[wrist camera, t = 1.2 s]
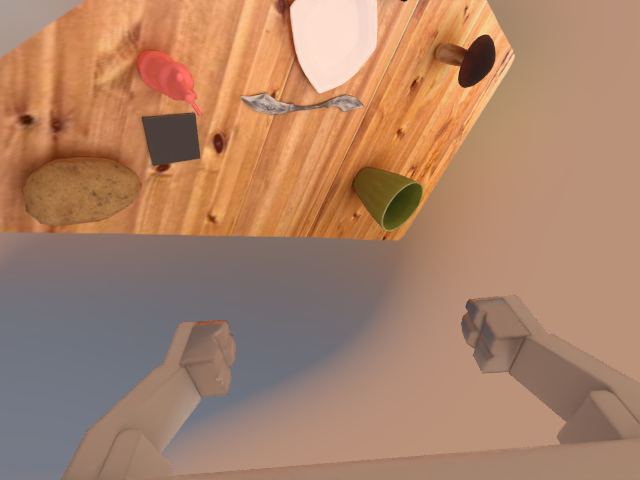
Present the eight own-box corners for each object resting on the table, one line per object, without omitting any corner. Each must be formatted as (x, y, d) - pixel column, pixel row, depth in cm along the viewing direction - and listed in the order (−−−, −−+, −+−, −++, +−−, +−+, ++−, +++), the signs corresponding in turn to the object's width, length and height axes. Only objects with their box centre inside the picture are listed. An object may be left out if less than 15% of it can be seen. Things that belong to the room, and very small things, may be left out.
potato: (140, 191, 54) (154, 216, 50) (39, 216, 47) (45, 247, 43) (122, 137, 48) (137, 160, 43) (2, 156, 41) (5, 186, 36)
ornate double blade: (239, 92, 55) (239, 121, 58) (241, 94, 54) (241, 122, 57) (368, 88, 72) (363, 110, 75) (370, 88, 72) (365, 110, 75)
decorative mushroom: (458, 33, 80) (513, 47, 72) (436, 79, 85) (485, 97, 77) (438, 17, 72) (497, 30, 64) (415, 68, 78) (467, 86, 69)
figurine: (179, 71, 47) (222, 105, 39) (152, 92, 47) (189, 130, 38) (155, 37, 43) (196, 66, 35) (124, 59, 43) (159, 94, 34)
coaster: (141, 117, 48) (142, 118, 48) (194, 112, 52) (195, 113, 52) (152, 165, 53) (153, 166, 53) (199, 157, 57) (200, 158, 57)
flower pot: (343, 209, 94) (380, 240, 86) (341, 169, 83) (384, 200, 74) (379, 187, 99) (418, 214, 91) (382, 146, 88) (427, 172, 79)
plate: (360, -66, 51) (368, -66, 50) (377, 49, 67) (383, 52, 66) (270, -1, 49) (277, 1, 48) (310, 103, 65) (315, 107, 64)
